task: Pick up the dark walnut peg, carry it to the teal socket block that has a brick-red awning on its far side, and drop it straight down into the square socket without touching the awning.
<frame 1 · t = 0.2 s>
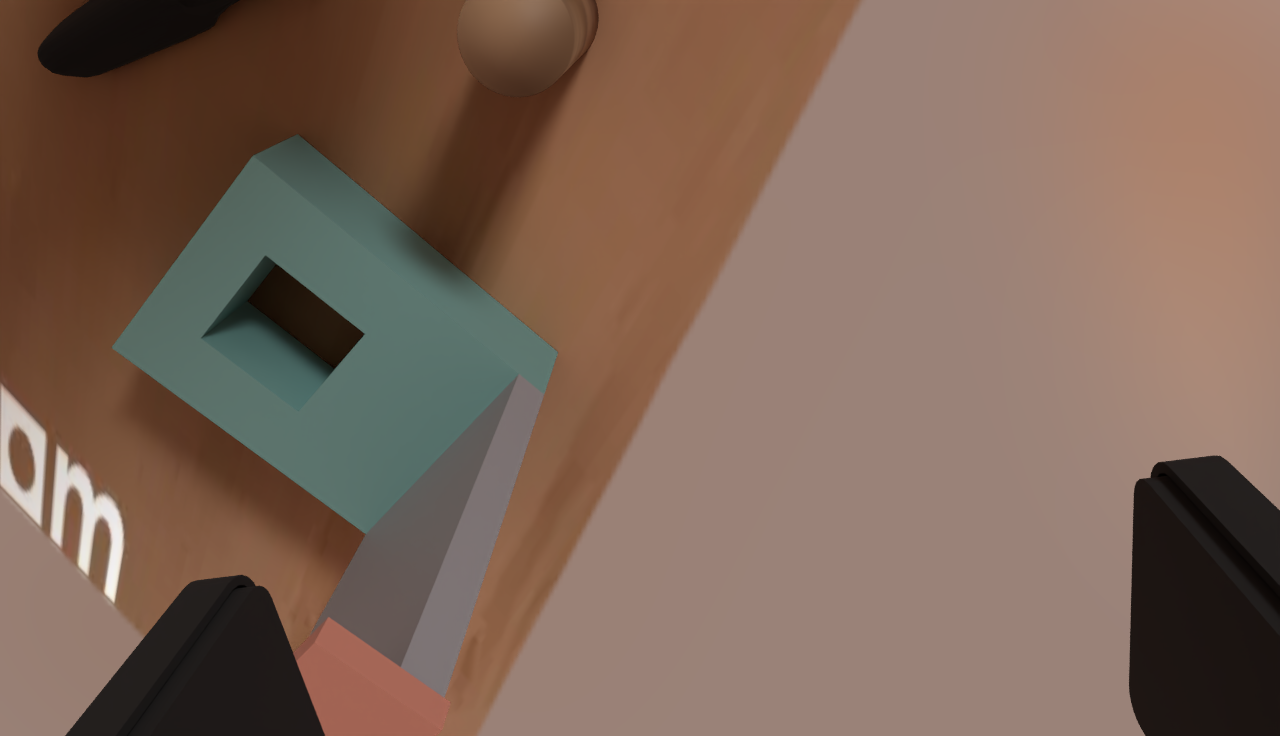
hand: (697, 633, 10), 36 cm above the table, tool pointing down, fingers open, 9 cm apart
socket stand: (321, 299, 48), on the table
walnut peg: (553, 17, 42), on the table
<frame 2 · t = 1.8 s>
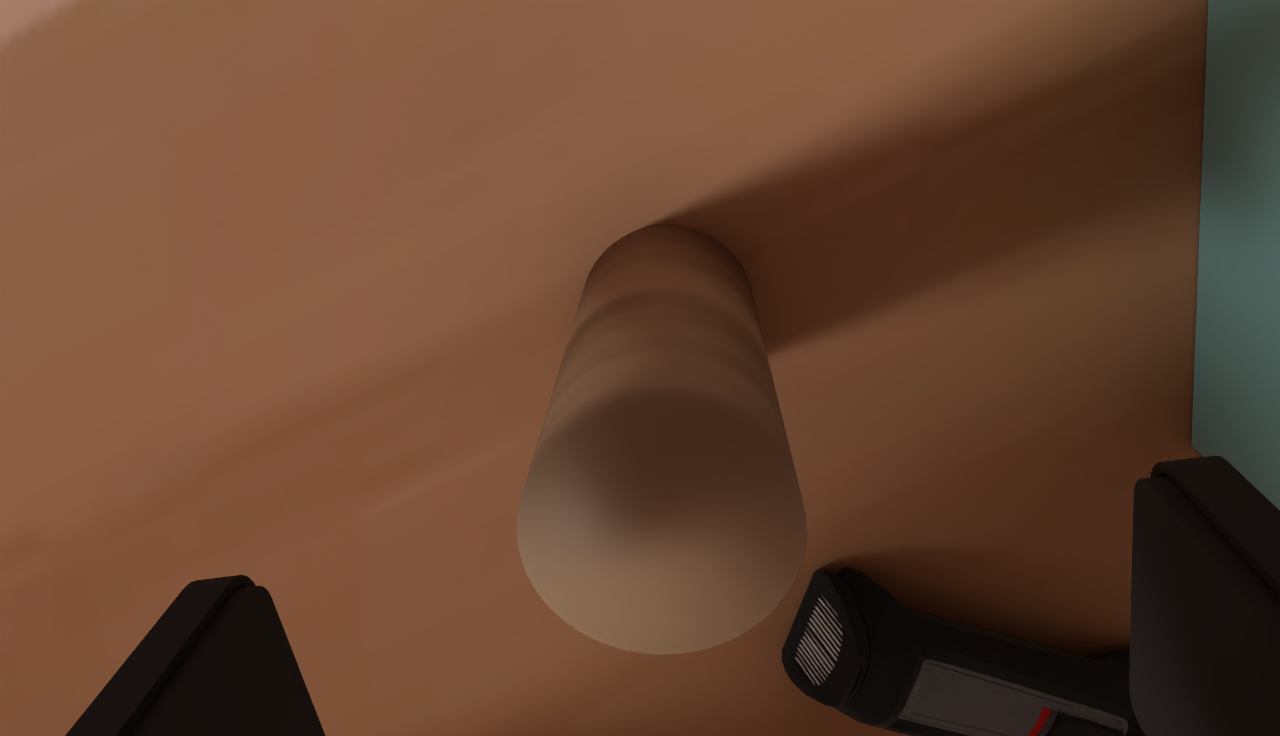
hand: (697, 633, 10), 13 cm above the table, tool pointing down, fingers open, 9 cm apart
electric trimmer: (1053, 661, 27), on the table
walnut peg: (667, 309, 23), on the table
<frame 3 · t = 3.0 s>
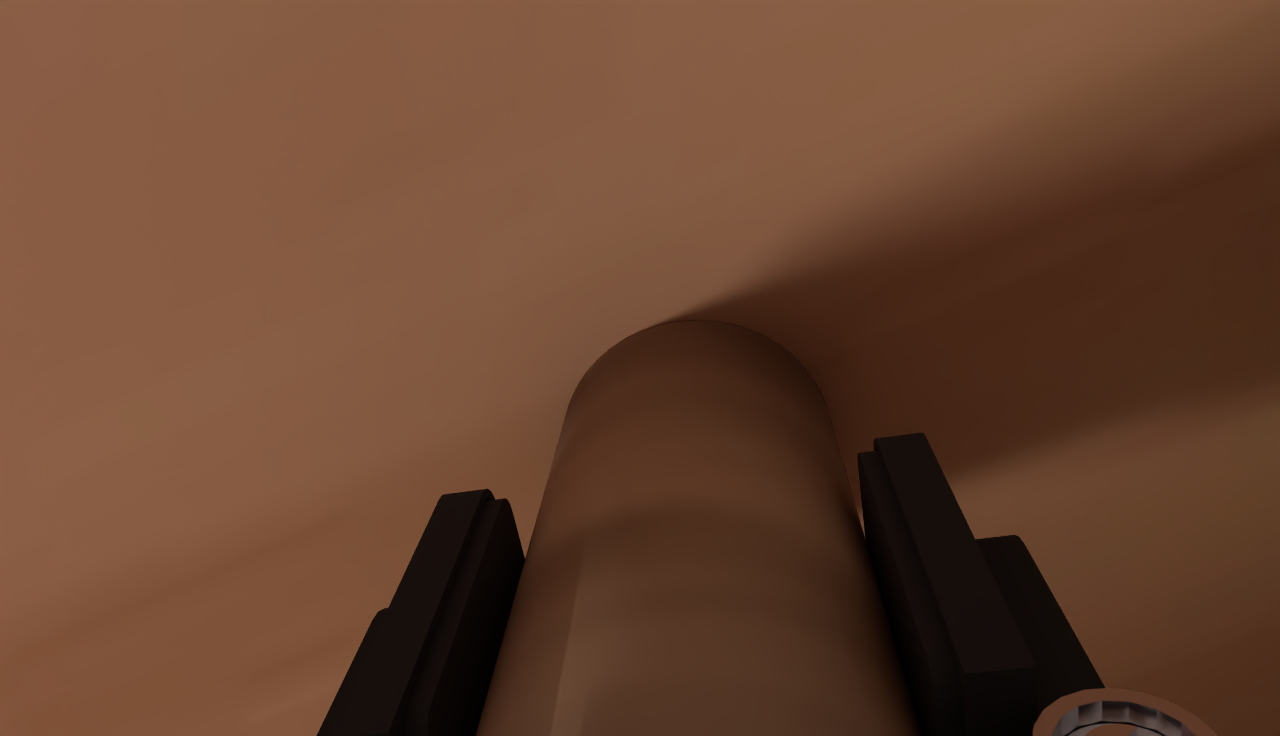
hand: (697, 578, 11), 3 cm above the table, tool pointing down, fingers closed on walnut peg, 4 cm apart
walnut peg: (696, 446, 14), on the table, touching gripper
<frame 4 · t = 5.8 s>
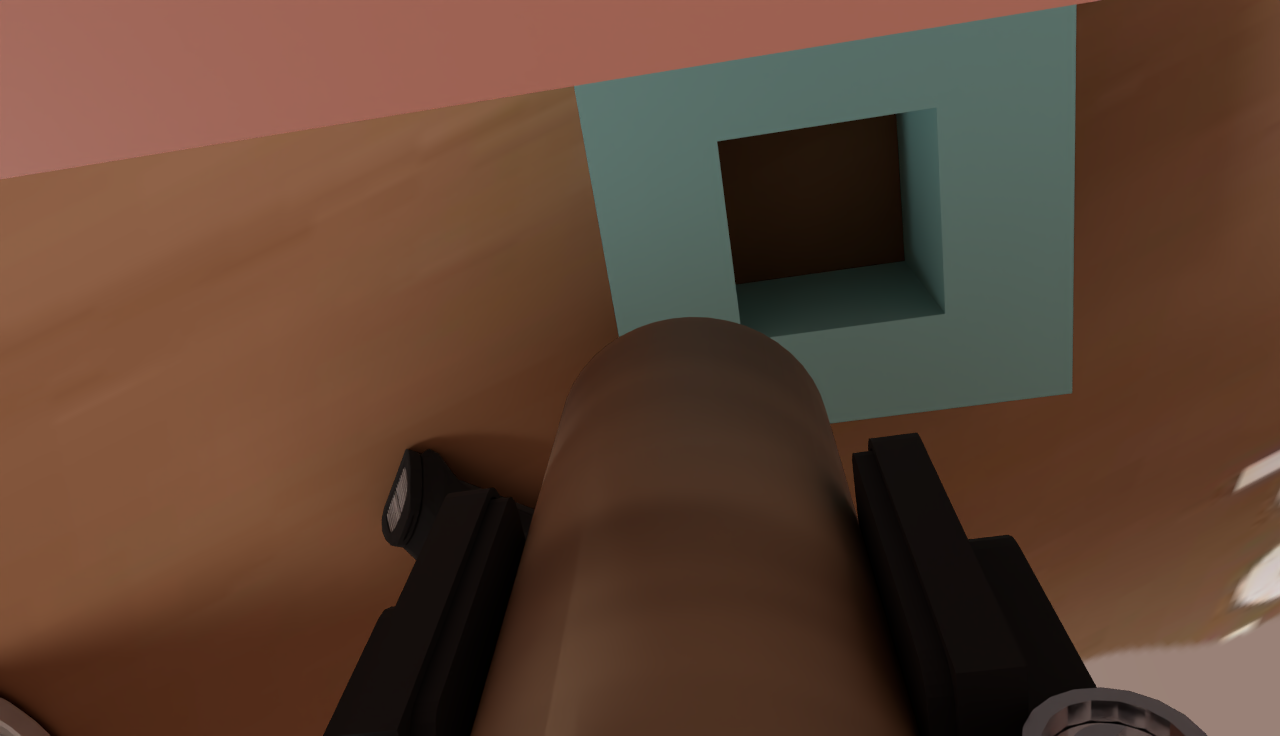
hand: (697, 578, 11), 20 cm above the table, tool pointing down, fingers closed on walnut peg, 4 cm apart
socket stand: (810, 189, 29), on the table
electric trimmer: (592, 542, 35), on the table
walnut peg: (693, 443, 14), point 17 cm above the table, touching gripper
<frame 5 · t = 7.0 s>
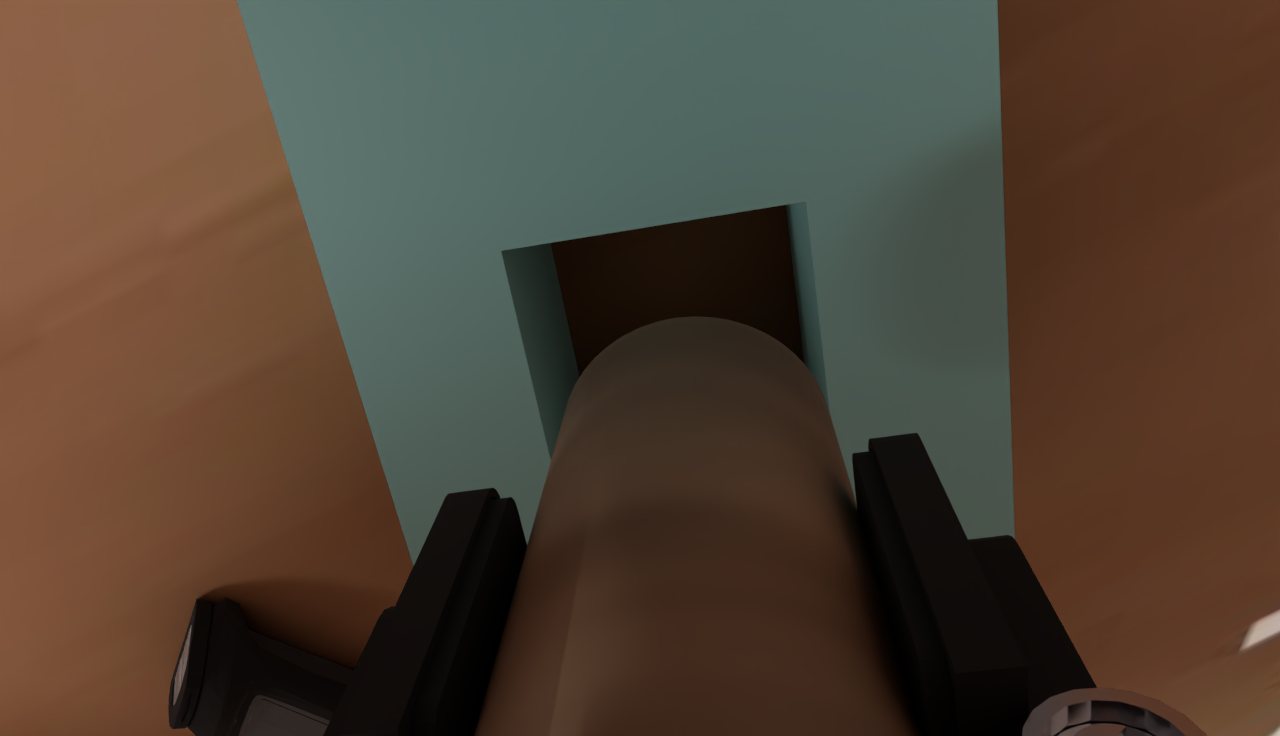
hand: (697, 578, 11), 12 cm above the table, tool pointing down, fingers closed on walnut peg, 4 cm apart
socket stand: (676, 285, 22), on the table
electric trimmer: (441, 707, 28), on the table
walnut peg: (696, 442, 14), point 9 cm above the table, touching gripper
when the fingers open (6 cm above the table, at t = 8.4 s): walnut peg drops 3 cm, resting in socket stand.
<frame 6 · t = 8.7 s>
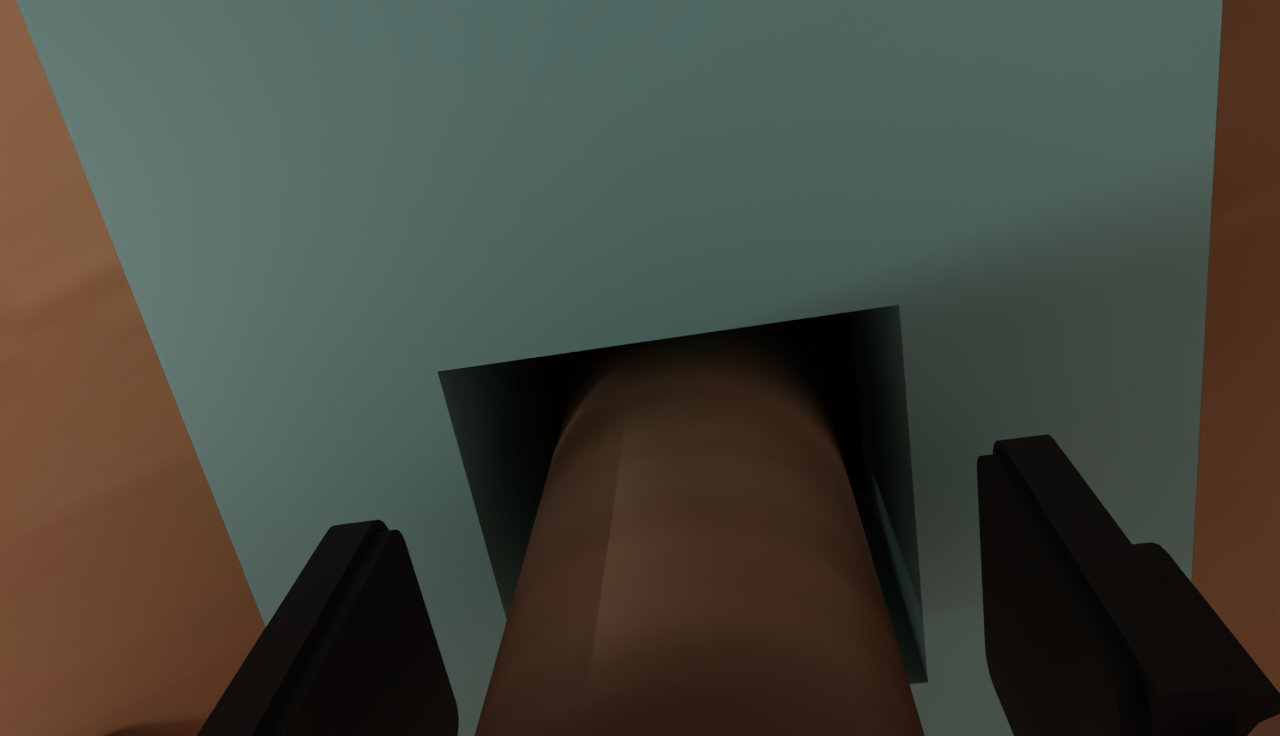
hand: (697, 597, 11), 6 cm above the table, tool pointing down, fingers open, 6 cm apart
socket stand: (696, 376, 17), on the table
walnut peg: (695, 374, 17), resting in socket stand
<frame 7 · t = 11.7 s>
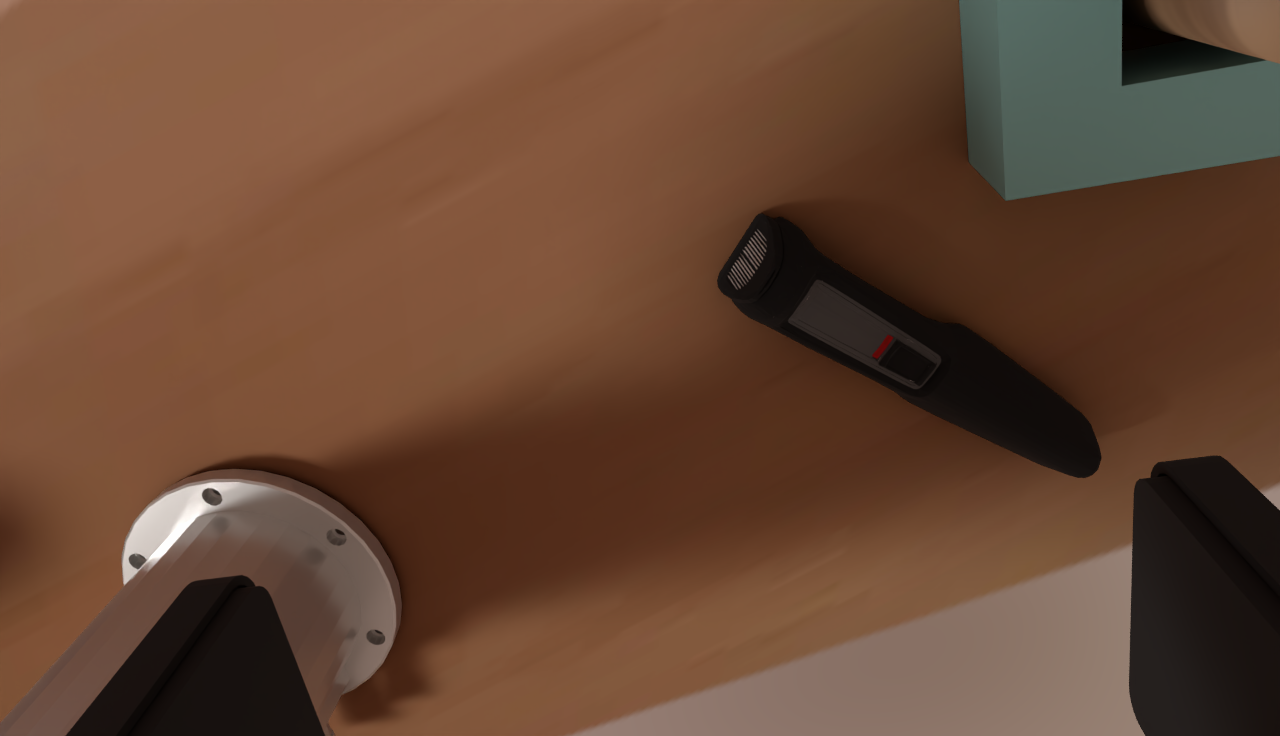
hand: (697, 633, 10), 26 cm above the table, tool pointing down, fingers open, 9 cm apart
electric trimmer: (904, 332, 37), on the table
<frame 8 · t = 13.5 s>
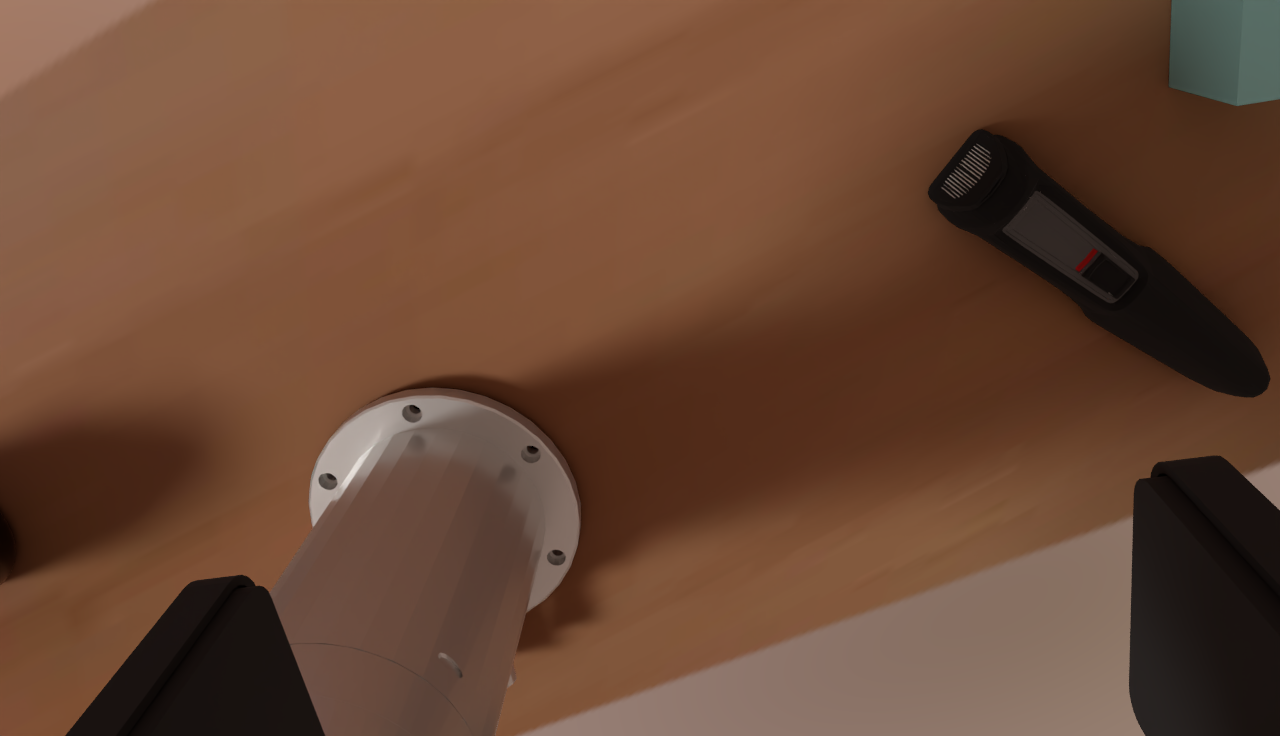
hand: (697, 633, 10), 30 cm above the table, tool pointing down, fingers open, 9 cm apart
electric trimmer: (1089, 256, 40), on the table
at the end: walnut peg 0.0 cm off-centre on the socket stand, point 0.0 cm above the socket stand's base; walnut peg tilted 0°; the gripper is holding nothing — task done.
